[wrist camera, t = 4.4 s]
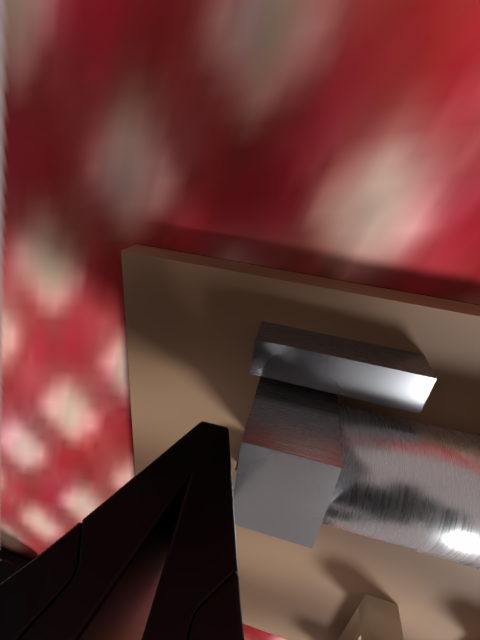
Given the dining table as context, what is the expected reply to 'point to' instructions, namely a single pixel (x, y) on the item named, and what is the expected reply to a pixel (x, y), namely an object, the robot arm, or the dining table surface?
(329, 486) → the grey piece
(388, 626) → the rack
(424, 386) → the socket
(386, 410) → the board
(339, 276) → the dining table surface
